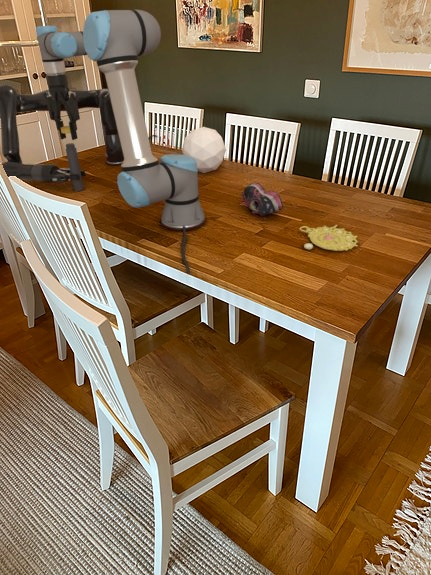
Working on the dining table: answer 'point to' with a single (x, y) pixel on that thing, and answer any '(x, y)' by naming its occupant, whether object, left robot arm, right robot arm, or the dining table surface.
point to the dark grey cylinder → (74, 166)
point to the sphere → (204, 148)
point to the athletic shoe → (261, 200)
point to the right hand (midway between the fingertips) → (69, 138)
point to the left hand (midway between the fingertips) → (82, 175)
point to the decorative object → (330, 238)
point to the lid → (65, 129)
